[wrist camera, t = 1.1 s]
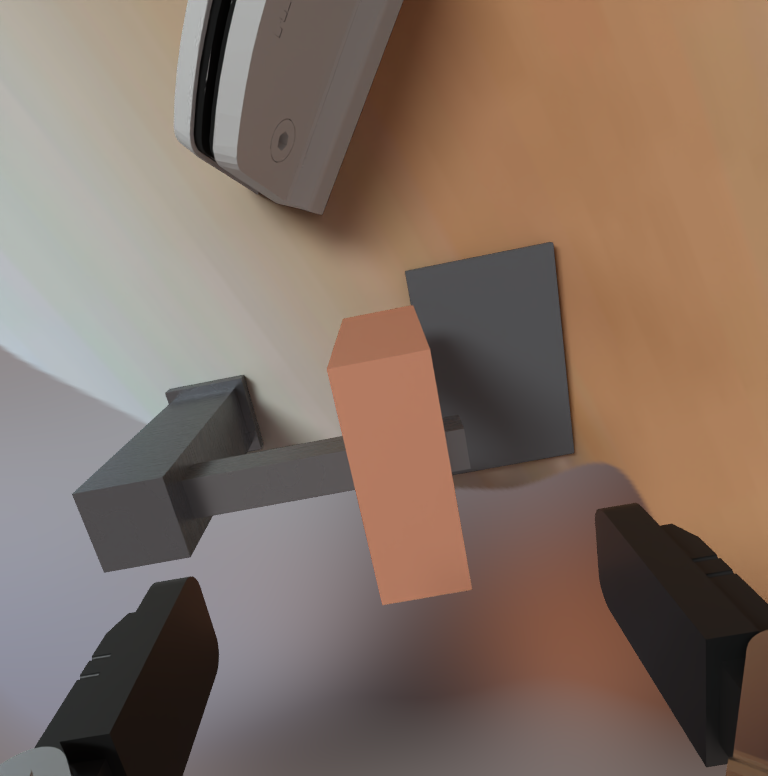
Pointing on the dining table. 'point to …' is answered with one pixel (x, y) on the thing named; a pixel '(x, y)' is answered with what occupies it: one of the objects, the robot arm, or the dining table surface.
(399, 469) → the pink block
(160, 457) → the bracket
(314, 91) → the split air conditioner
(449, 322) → the mat
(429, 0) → the dining table surface
